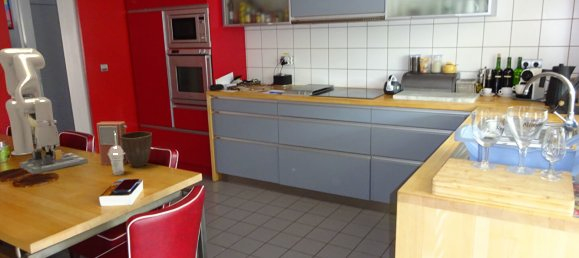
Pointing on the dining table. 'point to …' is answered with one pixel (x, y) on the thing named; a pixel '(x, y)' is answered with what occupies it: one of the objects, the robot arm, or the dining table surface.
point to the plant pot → (137, 147)
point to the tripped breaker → (57, 154)
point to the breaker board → (50, 162)
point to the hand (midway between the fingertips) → (50, 158)
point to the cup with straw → (117, 157)
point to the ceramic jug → (32, 124)
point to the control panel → (109, 138)
